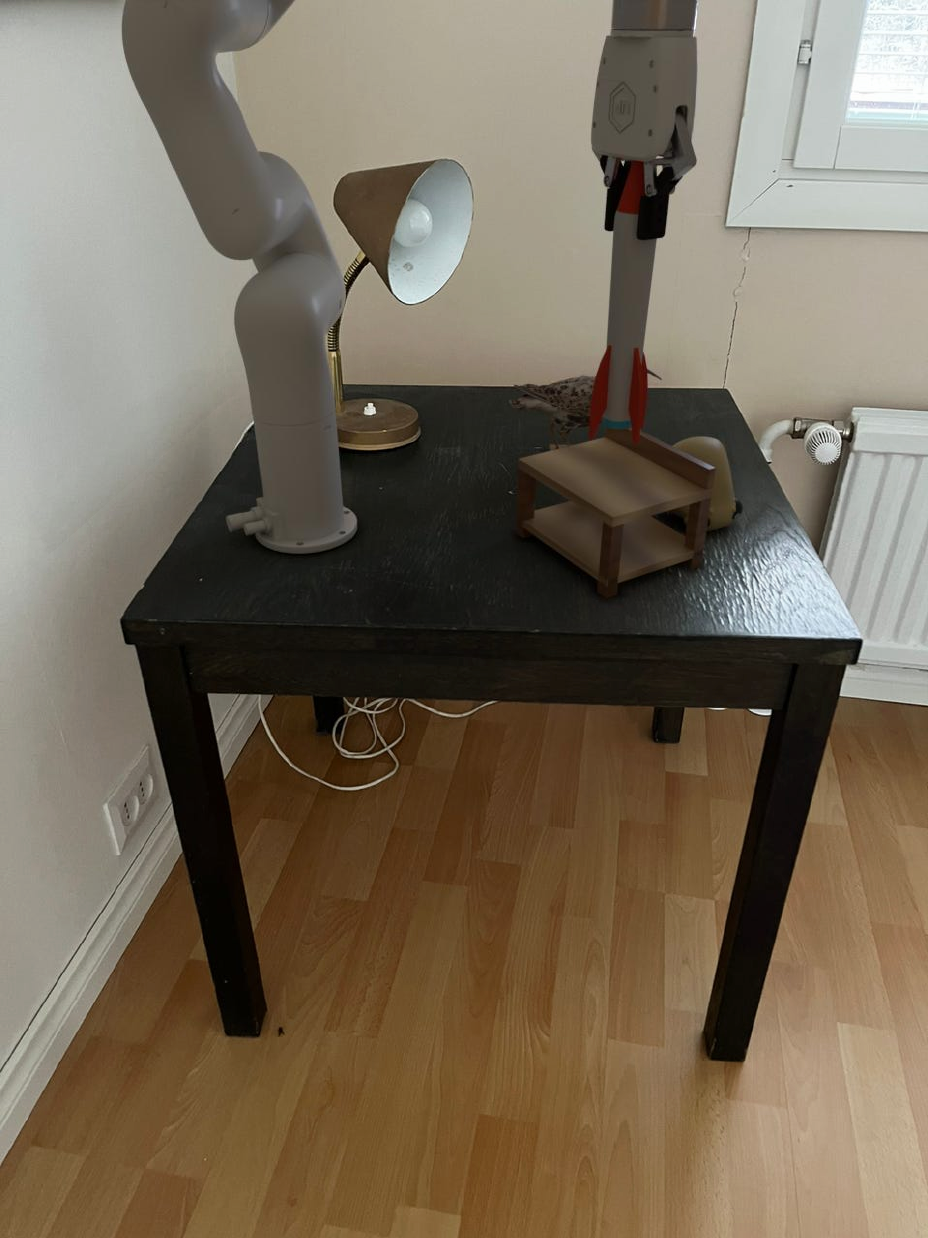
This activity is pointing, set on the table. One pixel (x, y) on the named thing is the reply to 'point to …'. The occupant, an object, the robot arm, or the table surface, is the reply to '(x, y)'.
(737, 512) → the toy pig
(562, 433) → the stuffed bird
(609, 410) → the toy rocket
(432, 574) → the table surface
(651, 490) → the rack
